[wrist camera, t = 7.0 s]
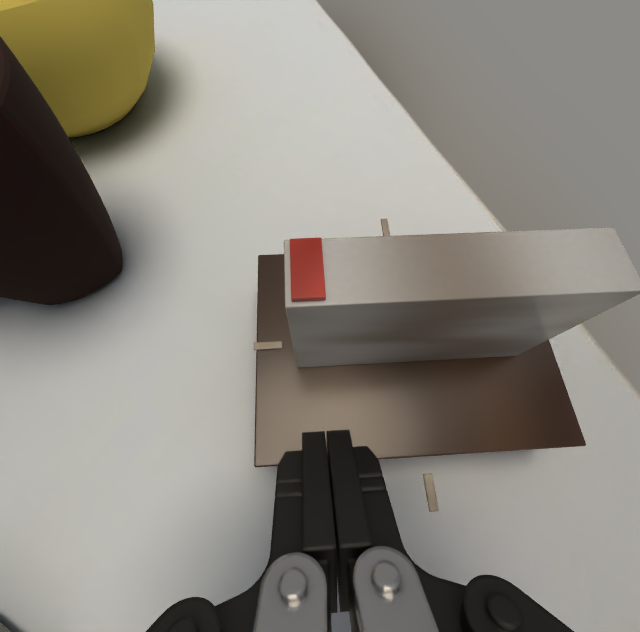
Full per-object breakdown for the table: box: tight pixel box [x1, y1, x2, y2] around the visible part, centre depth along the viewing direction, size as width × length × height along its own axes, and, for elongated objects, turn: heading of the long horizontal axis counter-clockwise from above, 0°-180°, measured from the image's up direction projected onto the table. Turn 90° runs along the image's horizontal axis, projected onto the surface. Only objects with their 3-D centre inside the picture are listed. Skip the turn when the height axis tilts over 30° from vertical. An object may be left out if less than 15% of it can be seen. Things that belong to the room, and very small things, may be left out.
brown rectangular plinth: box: [254, 219, 586, 512], centre depth 18 cm, size 15×15×4 cm
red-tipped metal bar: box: [284, 227, 640, 368], centre depth 13 cm, size 11×2×7 cm, turn 93°
